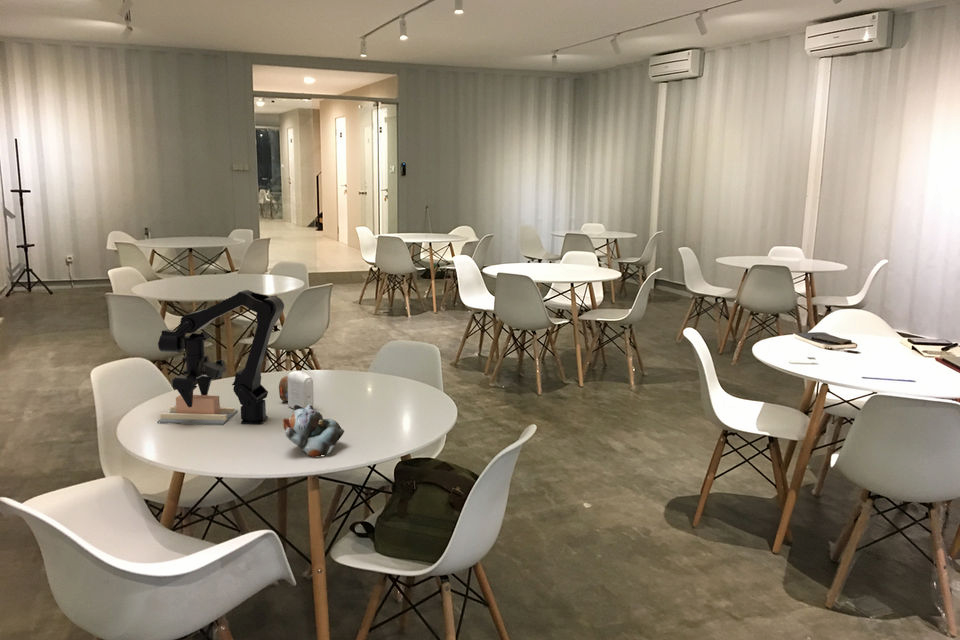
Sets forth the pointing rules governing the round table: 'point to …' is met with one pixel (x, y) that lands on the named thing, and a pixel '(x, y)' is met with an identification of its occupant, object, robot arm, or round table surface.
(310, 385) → the photo printer
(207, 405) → the pink rectangular brick
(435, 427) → the round table surface
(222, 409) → the slot mat
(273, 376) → the round table surface
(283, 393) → the tin
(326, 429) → the lucky cat figurine
